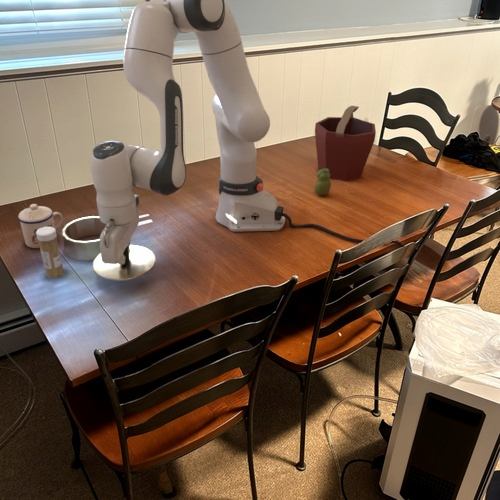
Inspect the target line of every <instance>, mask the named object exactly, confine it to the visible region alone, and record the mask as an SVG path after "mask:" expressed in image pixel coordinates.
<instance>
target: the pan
mask: <svg viewBox="0 0 500 500" xmlns="http://www.w3.org/2000/svg"><path fill="white" fill-rule="evenodd" d="M105 227H106V224H104V223H102V222H101V221H100V219H99V215H98V216H95V215H92V216H84V217H81V218H77V219H73V220H72V221H70V222H68V223H67V224H65V225H64V227H63V228H62V230H61V236H62V242H63V246H64V251H65V254H66V255H67V256H68V257H69V258H71V259H74V260H76V261H81V262H94V260H95V259H96V257H97V256H98V255H99V254H101V250H100V238H98V239H97V238H96V239H92V240H79V239H83V238H85V237H91V236H92V237H93V236H100V235H101V233H102V231H103V230H104V228H105Z"/></svg>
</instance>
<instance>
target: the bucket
mask: <svg viewBox="0 0 500 500" xmlns="http://www.w3.org/2000/svg"><path fill="white" fill-rule="evenodd" d="M359 108H360V106H358V105H357V106H356V105H349V106H348V107H347V108H345V110H344V112H343V114H342V115H341V116H340V117H339V116H327V117H326V118H324V119H321V120H319V121H317V122H316V123H315V125H314V136H315V147H316V149H315V150H316V159H317V169H318V171H319V170H321V169H323V168H327V169H329V173H330V179H332V180H337V181H342V182H347V181H351V180H356V179H360V178H361V177H362V175H363V172H364V170H365V167H366V164H367V162H368V159H369V157H370V153H371V151H372V148H373V146H374V143H375V139H376V134H377V131H376V124H375V123H373V122H369V121H366V120H363V119H360V118H356V117H354V113H355V112H356V111H358V109H359Z"/></svg>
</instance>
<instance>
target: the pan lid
mask: <svg viewBox="0 0 500 500" xmlns="http://www.w3.org/2000/svg"><path fill="white" fill-rule="evenodd" d="M123 255H124V256H125V257H126V261H125V263H124V264H118V263H117V264H106V263H104V262H103V261H102V259H101V254H99V255H98V256H97V257H96V259H95V260H93V261H92V262H93V263H92V269H93V272H94V273H95V274H96V275H97V276H99V277H100V278H102V279H105V280H108V281H116V282H119V281H120V282H121V281H130V280H134V279H138V278H140V277H143V276H145V275H147V274H148V273H149V272H151V270H152V269H153V268H154V267H155V265H156V262H157V261H156V259H157V258H156V255H155V253H154V251H152V250H151V249H149V248H147V247H144V246H141V245H136V244H135V245H134V244H130V254H129V251H128V247H126V248H125V250H124V253H123Z"/></svg>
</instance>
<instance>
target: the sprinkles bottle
mask: <svg viewBox="0 0 500 500" xmlns="http://www.w3.org/2000/svg"><path fill="white" fill-rule="evenodd" d="M36 235H37V239H38V241H39V245H40V248H39V251H40V254H41V260H42V263H43V266H44V270H45V276H46V277H47V278H49V279H57V278H60V277H62V276H63V275H64V274H65V270H64V267H63V261H62V256H61V252H60V247H59V244H58V240H57V239H58V236H57V229H55V228H53V227H42V228H40V229H38V230H37V231H36ZM56 236H57V238H56Z"/></svg>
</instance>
